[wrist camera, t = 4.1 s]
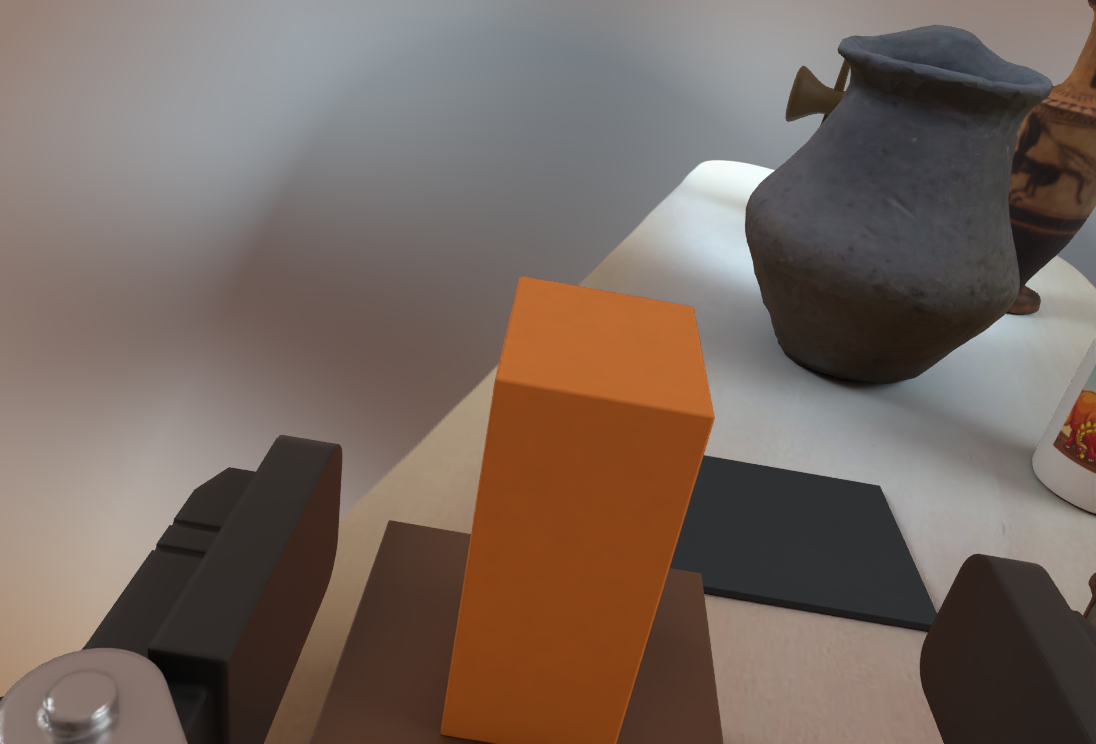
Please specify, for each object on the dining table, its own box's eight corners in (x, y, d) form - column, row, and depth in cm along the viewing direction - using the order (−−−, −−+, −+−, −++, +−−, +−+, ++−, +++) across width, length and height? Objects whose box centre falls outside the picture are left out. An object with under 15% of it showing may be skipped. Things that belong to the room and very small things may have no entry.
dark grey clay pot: (690, 366, 66) (788, 13, 54) (736, 274, 84) (818, -5, 72) (975, 455, 61) (1153, 90, 49) (959, 337, 80) (1085, 51, 68)
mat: (668, 587, 44) (670, 580, 44) (657, 453, 55) (659, 447, 55) (939, 633, 45) (943, 626, 44) (877, 491, 55) (880, 485, 55)
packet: (439, 736, 25) (495, 378, 20) (469, 590, 31) (520, 274, 25) (610, 764, 25) (716, 417, 20) (611, 614, 31) (694, 305, 25)
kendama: (758, 204, 106) (809, 29, 96) (839, 224, 104) (898, 48, 95) (754, 218, 101) (806, 35, 91) (838, 239, 99) (901, 54, 89)
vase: (930, 292, 89) (1062, -31, 74) (949, 266, 97) (1071, -29, 83) (1044, 331, 84) (1208, -3, 70) (1054, 300, 93) (1202, -4, 78)
